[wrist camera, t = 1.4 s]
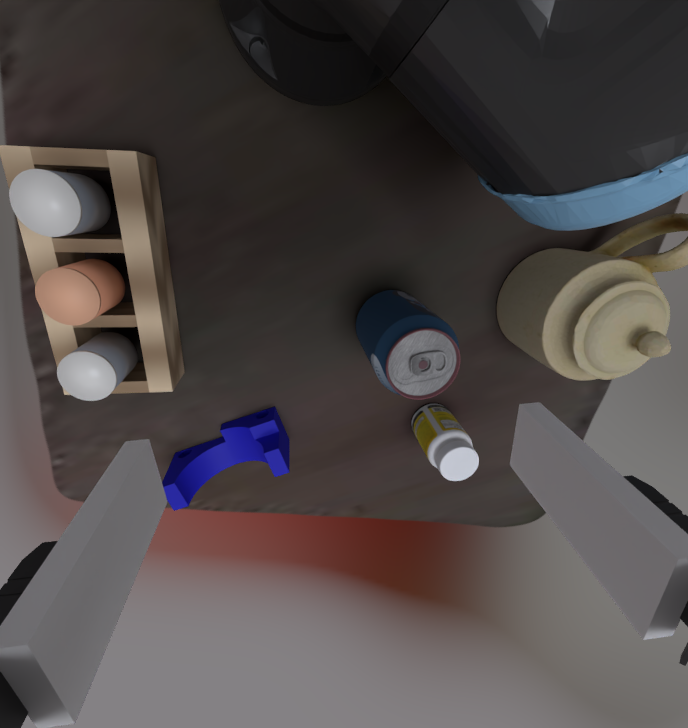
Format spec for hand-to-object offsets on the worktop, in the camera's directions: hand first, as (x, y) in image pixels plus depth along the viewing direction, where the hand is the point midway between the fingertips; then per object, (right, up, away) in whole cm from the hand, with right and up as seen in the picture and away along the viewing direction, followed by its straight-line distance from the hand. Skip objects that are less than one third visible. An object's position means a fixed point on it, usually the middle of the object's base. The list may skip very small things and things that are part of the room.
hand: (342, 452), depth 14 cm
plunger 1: (-20, +15, +15) cm, 29 cm away
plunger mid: (-20, +10, +17) cm, 28 cm away
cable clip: (-12, -5, +30) cm, 33 cm away
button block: (-20, +11, +21) cm, 31 cm away
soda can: (+4, +8, +26) cm, 28 cm away
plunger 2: (-20, +4, +20) cm, 28 cm away
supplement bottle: (+10, -3, +32) cm, 33 cm away
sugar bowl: (+22, +12, +27) cm, 37 cm away
